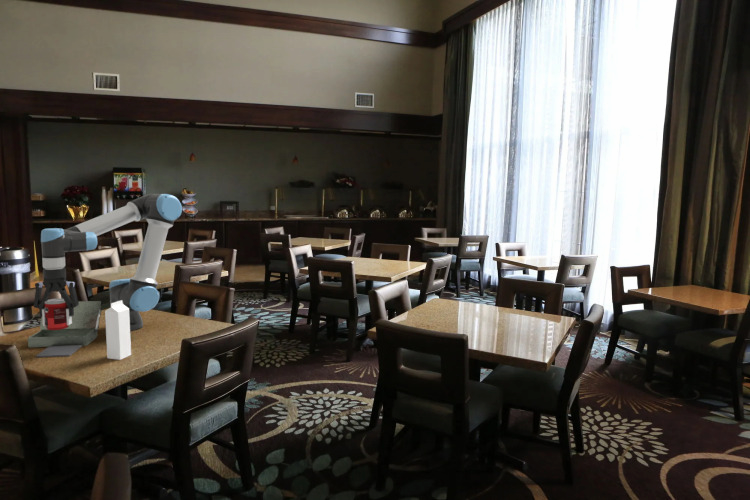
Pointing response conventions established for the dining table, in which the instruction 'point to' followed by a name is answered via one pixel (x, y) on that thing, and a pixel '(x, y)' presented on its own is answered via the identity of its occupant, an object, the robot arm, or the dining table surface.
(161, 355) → the dining table surface
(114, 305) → the milk
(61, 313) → the canned food
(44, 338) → the case
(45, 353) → the pad
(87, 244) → the robot arm
